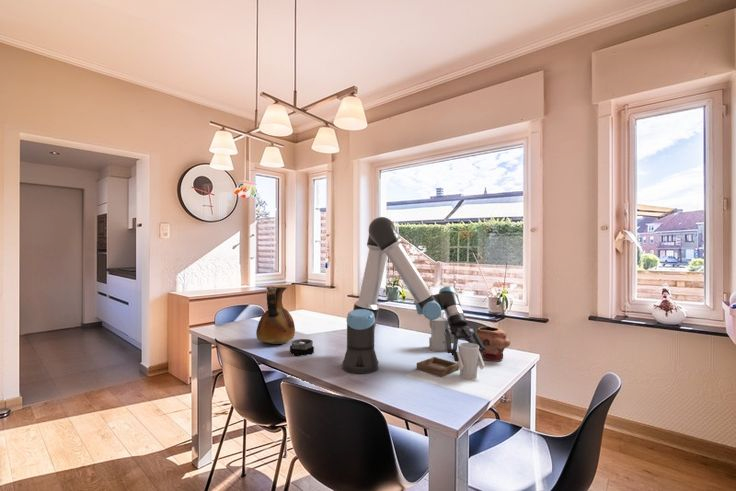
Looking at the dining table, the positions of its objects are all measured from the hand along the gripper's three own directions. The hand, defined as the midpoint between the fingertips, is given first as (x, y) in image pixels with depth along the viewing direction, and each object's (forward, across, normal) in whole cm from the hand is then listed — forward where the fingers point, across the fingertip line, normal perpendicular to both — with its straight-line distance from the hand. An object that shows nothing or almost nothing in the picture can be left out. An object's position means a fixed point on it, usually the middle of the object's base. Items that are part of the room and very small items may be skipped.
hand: (472, 368), depth 134 cm
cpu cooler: (-27, +66, -34) cm, 79 cm away
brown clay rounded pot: (-14, -19, -20) cm, 31 cm away
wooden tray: (-5, +10, -11) cm, 16 cm away
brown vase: (-41, +81, -48) cm, 102 cm away
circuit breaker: (-26, -4, -32) cm, 41 cm away
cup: (+1, 0, -6) cm, 6 cm away
